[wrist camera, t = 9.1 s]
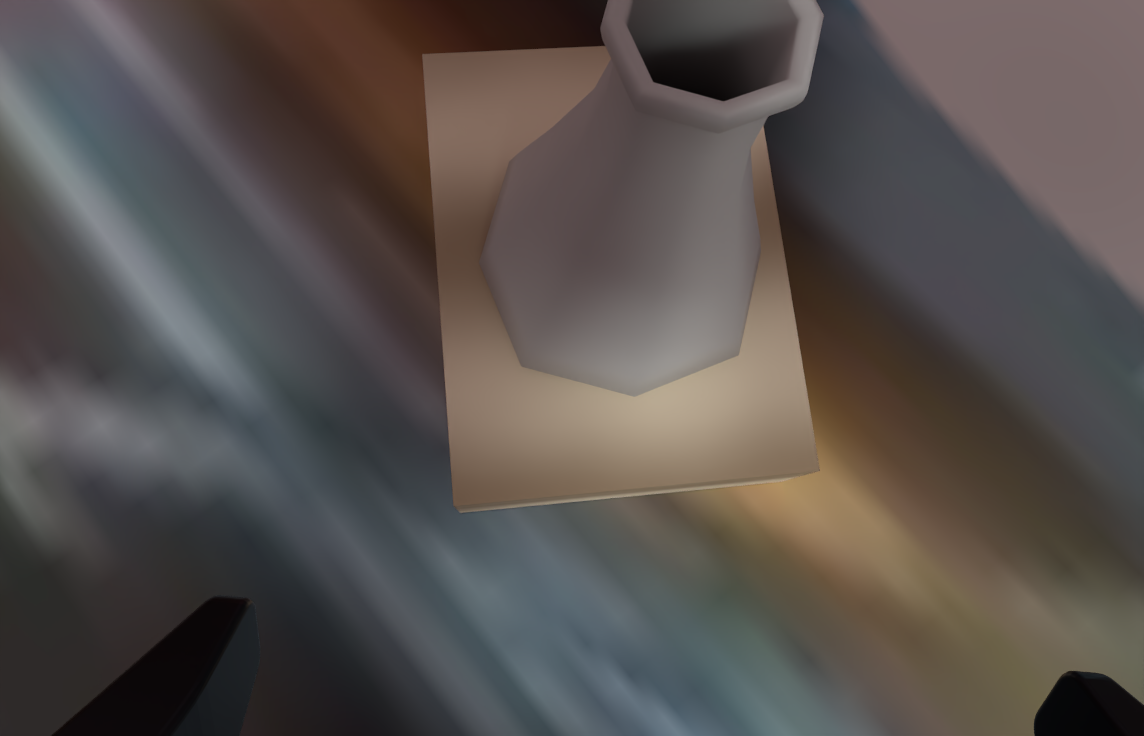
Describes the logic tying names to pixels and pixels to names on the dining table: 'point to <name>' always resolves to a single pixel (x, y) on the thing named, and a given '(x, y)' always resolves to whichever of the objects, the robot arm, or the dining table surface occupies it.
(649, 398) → the foundation block
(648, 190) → the flask
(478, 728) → the dining table surface
